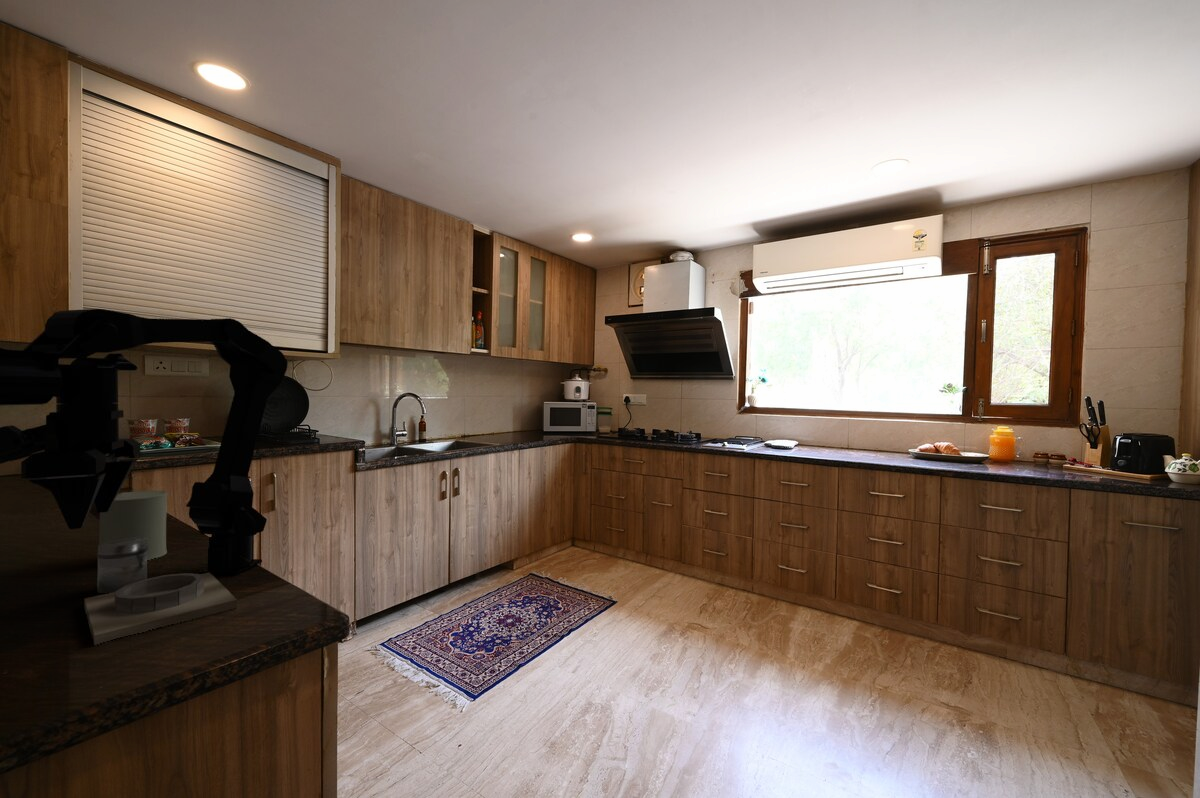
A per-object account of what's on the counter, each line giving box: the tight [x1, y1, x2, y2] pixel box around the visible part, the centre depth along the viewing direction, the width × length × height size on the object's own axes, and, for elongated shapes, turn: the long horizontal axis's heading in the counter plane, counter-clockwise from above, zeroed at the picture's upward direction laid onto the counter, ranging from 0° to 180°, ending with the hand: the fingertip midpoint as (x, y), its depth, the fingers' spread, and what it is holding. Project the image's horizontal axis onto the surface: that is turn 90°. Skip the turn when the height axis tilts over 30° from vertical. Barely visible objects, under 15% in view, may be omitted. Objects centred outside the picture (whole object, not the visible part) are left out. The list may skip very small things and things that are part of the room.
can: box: [97, 490, 168, 564], centre depth 89 cm, size 9×9×12 cm
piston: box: [96, 537, 148, 594], centre depth 76 cm, size 6×6×7 cm
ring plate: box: [83, 572, 238, 646], centre depth 68 cm, size 16×14×3 cm
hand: (90, 519), depth 65 cm, fingers open, 9 cm apart
